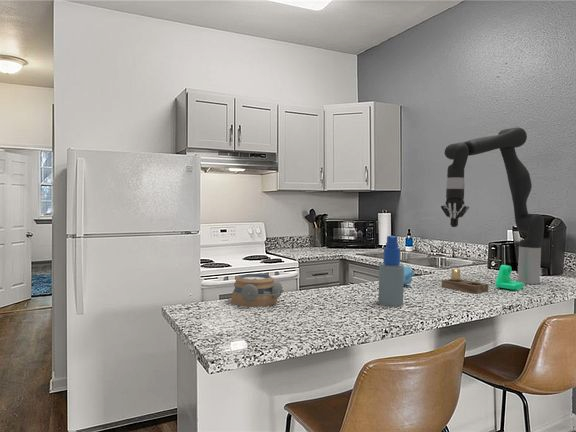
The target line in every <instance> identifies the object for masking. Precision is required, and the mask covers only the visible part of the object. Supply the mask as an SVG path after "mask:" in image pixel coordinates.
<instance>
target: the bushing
mask: <svg viewBox="0 0 576 432" xmlns="http://www.w3.org/2000/svg"><path fill="white" fill-rule="evenodd" d="M450 273H451V274H450V275H451V276H450V277H451V278H450V279H451V281H454V282H460V279H461V269H458V268H451V272H450Z"/></svg>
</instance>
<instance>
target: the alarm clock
mask: <svg viewBox="0 0 576 432" xmlns="http://www.w3.org/2000/svg"><path fill="white" fill-rule="evenodd" d="M233 286H234V289H233V291H232V292H231V297H230V298H231V301H230V302H231V303H232V304H234V305H237V306H242V307H249V308H250V307H252V308H255V307H256V308H257V307H259V308H261V307H266V306H267V307H268V306H272V305H275V304H277V303H278V300H279V299H278V298H280V297H281V296H282V294H283V293H284V292H285V290H284V289H283V286H282V283H281V282H279V281H276V282H275V278H273V277H272V276H270V275H269V274H264V273H245V274H241V275H239V276H238V277H236V278H235V282H234V283H233Z"/></svg>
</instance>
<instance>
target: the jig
mask: <svg viewBox="0 0 576 432" xmlns="http://www.w3.org/2000/svg"><path fill="white" fill-rule="evenodd" d="M441 288H444V289H449V288H450V289H449V290H454V289H455V290H456V291H459V290H460V291H459V292H464V293H465V292H466V293H470V294H475V295H476V294H477V295H478V294H481V293H487V292H489V283H483V282H478V281H472V280H465V279H461V278H460V282H454V281H451V278H448V279H443V280H441ZM455 290H454V291H455Z"/></svg>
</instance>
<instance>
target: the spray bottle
mask: <svg viewBox="0 0 576 432" xmlns="http://www.w3.org/2000/svg"><path fill="white" fill-rule="evenodd" d="M382 257H383V258H382V259H383V263H382V262H381V263H379V266H378V268H379V269H378V299H377V301H378V305H382V306H384V307H396V308H397V307H402V306H404V287H405V286H404V266H405V265H404V264H403V263H401V248H400V247H399V243H398V236H396V235H387V236H386V242H385V246H384V247H383V256H382ZM400 263H401V264H400Z"/></svg>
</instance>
